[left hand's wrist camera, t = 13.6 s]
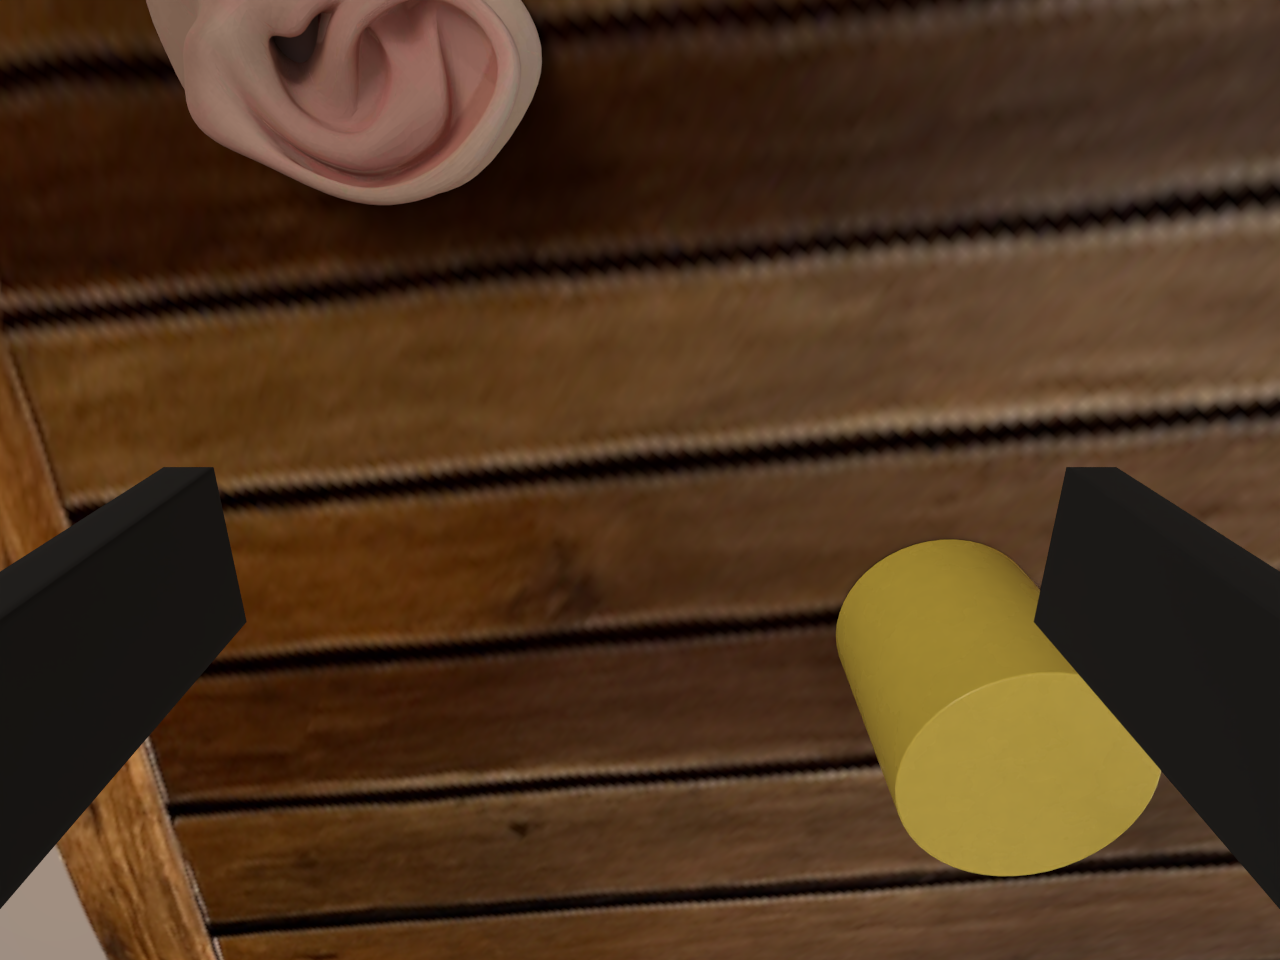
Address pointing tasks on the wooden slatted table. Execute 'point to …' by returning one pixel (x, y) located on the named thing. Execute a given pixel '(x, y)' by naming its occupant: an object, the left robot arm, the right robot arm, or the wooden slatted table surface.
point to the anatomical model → (357, 86)
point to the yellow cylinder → (984, 715)
